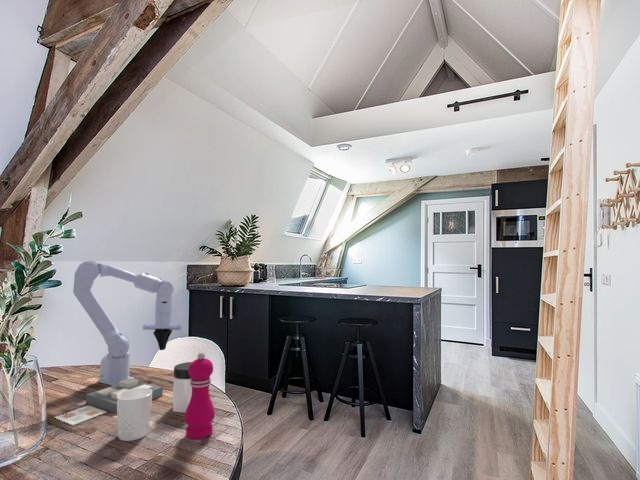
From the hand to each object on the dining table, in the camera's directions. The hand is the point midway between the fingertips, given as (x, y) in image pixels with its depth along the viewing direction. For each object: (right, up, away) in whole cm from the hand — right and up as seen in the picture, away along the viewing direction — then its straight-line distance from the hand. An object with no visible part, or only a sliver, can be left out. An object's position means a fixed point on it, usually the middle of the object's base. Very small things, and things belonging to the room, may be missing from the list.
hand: (162, 349), depth 134 cm
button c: (0, -6, -28) cm, 29 cm away
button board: (-1, -8, -23) cm, 25 cm away
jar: (+20, -8, -29) cm, 36 cm away
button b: (-3, -6, -19) cm, 20 cm away
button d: (+3, -7, -22) cm, 23 cm away
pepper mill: (+29, -8, -45) cm, 54 cm away
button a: (-6, -7, -25) cm, 26 cm away
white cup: (+13, -8, -45) cm, 48 cm away
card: (-7, -8, -35) cm, 37 cm away
